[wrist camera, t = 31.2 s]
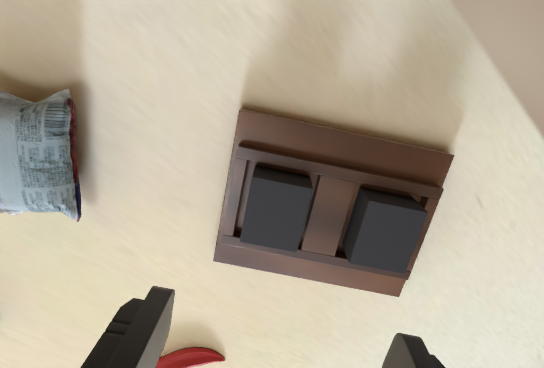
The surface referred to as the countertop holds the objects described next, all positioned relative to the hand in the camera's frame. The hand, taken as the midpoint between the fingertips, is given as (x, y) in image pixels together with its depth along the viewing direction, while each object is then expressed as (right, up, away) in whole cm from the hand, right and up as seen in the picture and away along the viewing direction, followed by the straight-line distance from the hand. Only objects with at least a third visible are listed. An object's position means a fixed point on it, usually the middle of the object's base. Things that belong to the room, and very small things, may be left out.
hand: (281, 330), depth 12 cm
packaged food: (-22, +8, +20) cm, 31 cm away
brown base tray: (+5, +3, +21) cm, 21 cm away
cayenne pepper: (-12, -15, +27) cm, 33 cm away
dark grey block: (+9, +2, +20) cm, 22 cm away
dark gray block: (0, +4, +19) cm, 20 cm away
